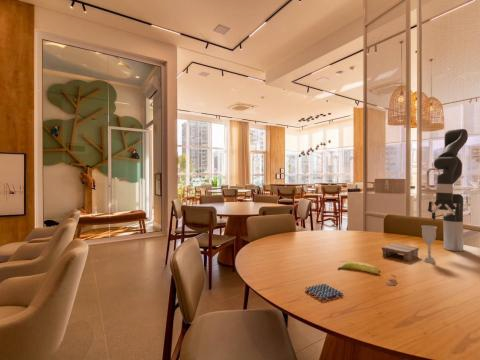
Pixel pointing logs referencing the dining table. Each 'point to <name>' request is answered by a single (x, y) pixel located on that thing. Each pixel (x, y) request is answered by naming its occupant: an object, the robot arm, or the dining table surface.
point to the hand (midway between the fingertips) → (443, 220)
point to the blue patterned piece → (324, 292)
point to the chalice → (429, 240)
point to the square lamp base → (401, 251)
